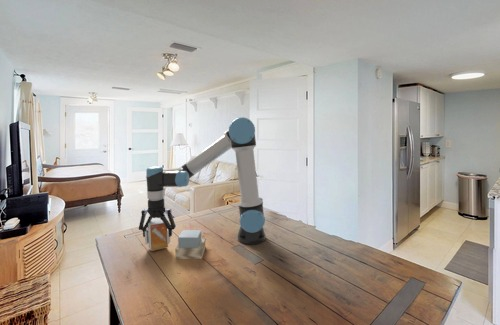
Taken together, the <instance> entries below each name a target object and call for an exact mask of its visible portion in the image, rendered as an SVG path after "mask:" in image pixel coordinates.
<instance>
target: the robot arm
mask: <svg viewBox="0 0 500 325" xmlns="http://www.w3.org/2000/svg"><path fill="white" fill-rule="evenodd" d="M256 141H257V140H256V127H255V124H254V123H253V121H252V120H251V119H249V118H247V117H244V116H243V117H236V118H235V119H233V120H232V121H231V123H230V124H229V127H228V129H227V130H226V131H224V135H222V136H221V137H220V138H218V139H217V140H216V141H214V142H213V143H212V144H210V145H209V146H207V147H206V148H204V150H202V151H200V152H199V153H198V154H196V155H195V156H194V157H192V158H191V159H190V160H188V161H187V162H186V163H184V164H182V165H181V166H180V167H179V168H177V169H174V170H168V171H167V170H164V167H163V166H158V165H157V166H150V167H147V168H146V172H145V173H146V176H145V178H146V179H145V180H146V187H147V188H146V189H147V190H146V191H147V192H146V194H147V209H145V208H144V209H142V210H141V216H140V220H139V226H138V230H139V231H142V237H143V238H144V243H145V245H148V223H149V222H150V221H153V219H155V218H156V219H159V220H160V219H161V220H162V221H163V222H164V223H165V226H166V227H167V244H168V245H169V244H170V243H171V237H172V236H173V230H175V229H176V223H175V220H174V216H173V214H172V208H167V209H166V206H165V192H164V191H165V187H166V188H167V187H170V188H171V187H172V188H174V187H176V188H178V187H179V188H182V187H188V186H189V183H190V179H191V178H192V177H193V176H195V175H196V174H197V173H199V172H200V171H202V170H203V169H204V168H206V167H207V166H209V165H210V164H211V163H213V162H214V161H215V160H217V159H218V158H219V157H221V156H222V155H224V154H225V153H227V152H228V151H230V150H231V149H232V150H233V151H234V152H235V159H236V167H237V168H236V169H237V177H238V183H239V185H238V186H239V192H240V193H239V194H240V201H239V203H238V209H239V210H238V212H239V224H240V227H239V230H238V232H237V240H238V241H239V242H240V243H241V244H244V245H245V244H246V245H258V244H261V242H262V243H263V241H264V240H265V241H266V233H265V229H264V226H265V222H266V218H265V214H264V202H263V200H264V199H263V198H262V197H260V196H259V189H258V179H257V178H258V177H257V170H256V162H255V161H256V160H255V154H254V153H255V150H254V149H255V148H256V146H257V142H256ZM147 213H148V215H149V216H148V218H147V220H145V219H146V216H147ZM165 213H166V214H167V217H166V215H165ZM167 218H168V219H167ZM145 221H146V222H145ZM265 241H264V242H265Z"/></svg>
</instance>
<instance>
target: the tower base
mask: <svg viewBox="0 0 500 325" xmlns="http://www.w3.org/2000/svg"><path fill="white" fill-rule="evenodd" d="M205 249H206V238H205V237H203V238H202V237H201V242H200V244H199V247H198V248H178V244H177V246H175V251H174V252H175V256H174V257H175V258H174V259H176V260H189V259H190V260H193V259H194V260H195V259H196V260H197V259H203V257H204V254H205Z"/></svg>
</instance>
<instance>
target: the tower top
mask: <svg viewBox="0 0 500 325" xmlns="http://www.w3.org/2000/svg"><path fill="white" fill-rule="evenodd" d="M201 238H202V229H183V230H182V231H181V232H180V234H179V235H178V238H177V245H178V248H198V247H199V244H200V242H201Z"/></svg>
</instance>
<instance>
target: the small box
mask: <svg viewBox="0 0 500 325" xmlns="http://www.w3.org/2000/svg"><path fill="white" fill-rule="evenodd" d="M147 229H148V244H147V245H148V249H149V250H150V251H151V252H154V251H158V250H163V249H165V248H166V249H167V248H169V244H167V230H168V229H167V227H166V226H165V223H164V222H163V221H162V220H161V219H160V218H159V219H155V220H151V221H150V222H149V223H148V227H147Z"/></svg>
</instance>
